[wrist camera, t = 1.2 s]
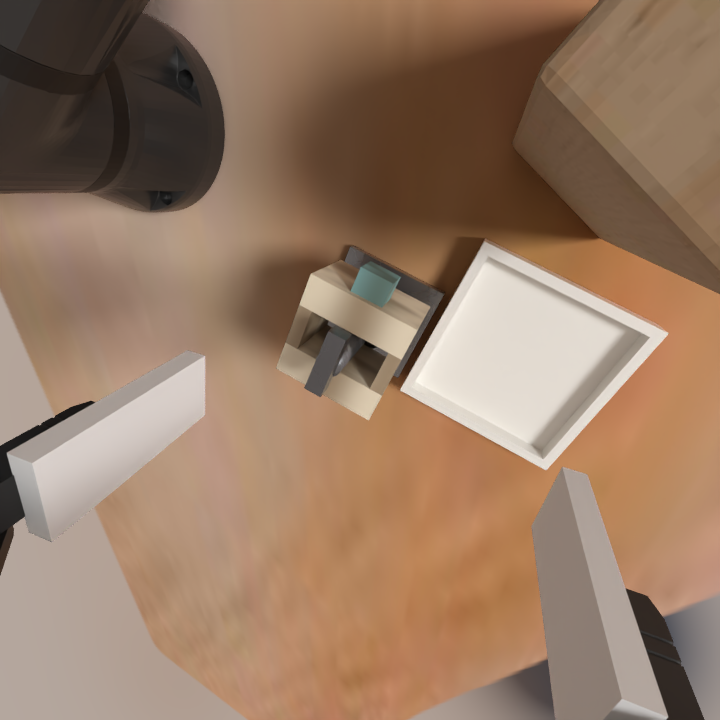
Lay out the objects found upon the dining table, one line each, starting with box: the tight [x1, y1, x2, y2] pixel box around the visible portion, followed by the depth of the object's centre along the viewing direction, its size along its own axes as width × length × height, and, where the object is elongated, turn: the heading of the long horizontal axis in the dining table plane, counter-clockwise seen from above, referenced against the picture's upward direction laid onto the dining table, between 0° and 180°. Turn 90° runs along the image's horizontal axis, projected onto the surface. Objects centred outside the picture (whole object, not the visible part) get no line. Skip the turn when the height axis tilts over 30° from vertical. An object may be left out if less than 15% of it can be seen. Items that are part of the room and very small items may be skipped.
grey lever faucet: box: [304, 245, 445, 397], centre depth 31 cm, size 9×9×14 cm
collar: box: [276, 260, 430, 420], centre depth 31 cm, size 8×10×6 cm
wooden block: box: [512, 0, 720, 294], centre depth 19 cm, size 10×10×20 cm
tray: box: [400, 238, 669, 470], centre depth 34 cm, size 15×15×2 cm
